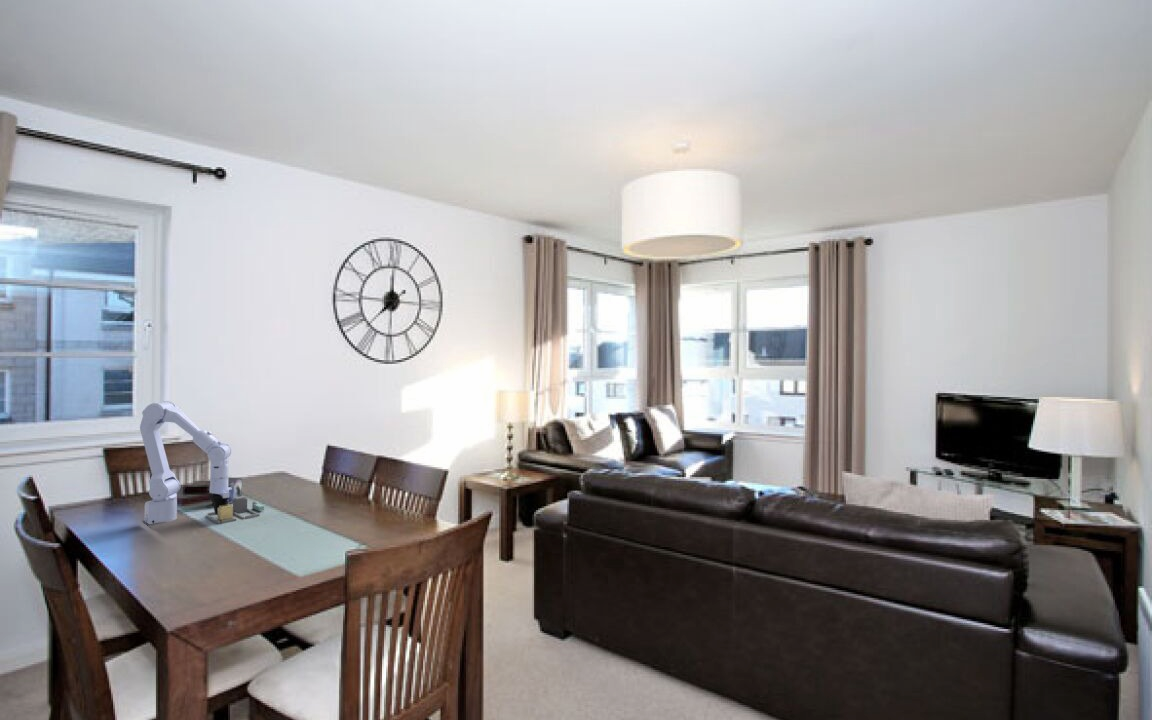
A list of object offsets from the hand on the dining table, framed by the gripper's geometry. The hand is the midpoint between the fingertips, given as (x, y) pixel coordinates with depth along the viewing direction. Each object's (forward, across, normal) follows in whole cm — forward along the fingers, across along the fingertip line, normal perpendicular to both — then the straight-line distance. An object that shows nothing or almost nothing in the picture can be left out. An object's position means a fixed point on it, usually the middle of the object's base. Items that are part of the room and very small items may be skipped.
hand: (219, 514), depth 216 cm
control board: (+3, -1, -5) cm, 6 cm away
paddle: (+1, 0, -14) cm, 14 cm away
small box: (+3, +22, -10) cm, 24 cm away
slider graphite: (+1, +3, -8) cm, 9 cm away
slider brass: (+1, -6, 0) cm, 6 cm away
